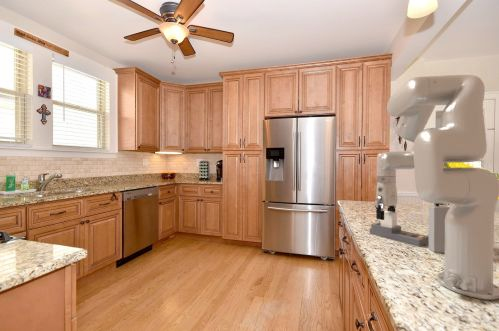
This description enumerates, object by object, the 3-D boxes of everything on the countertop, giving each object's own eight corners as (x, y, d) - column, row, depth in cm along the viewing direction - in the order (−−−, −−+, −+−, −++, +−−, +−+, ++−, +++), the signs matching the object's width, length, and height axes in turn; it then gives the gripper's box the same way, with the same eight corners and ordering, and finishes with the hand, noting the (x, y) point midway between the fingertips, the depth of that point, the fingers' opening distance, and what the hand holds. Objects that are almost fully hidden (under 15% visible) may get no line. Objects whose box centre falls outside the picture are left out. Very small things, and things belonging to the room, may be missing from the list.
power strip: (418, 248, 93) (418, 235, 93) (369, 234, 110) (369, 224, 110) (429, 243, 98) (429, 231, 97) (380, 231, 114) (380, 221, 114)
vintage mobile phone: (449, 253, 86) (450, 184, 85) (434, 252, 87) (434, 184, 86) (443, 249, 89) (443, 183, 89) (428, 249, 90) (428, 183, 90)
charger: (392, 231, 104) (392, 213, 104) (380, 229, 108) (380, 211, 108) (396, 230, 106) (396, 212, 106) (385, 227, 110) (385, 210, 110)
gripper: (384, 181, 99) (384, 222, 100) (404, 179, 109) (404, 216, 109) (367, 180, 106) (367, 218, 106) (387, 178, 115) (387, 214, 115)
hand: (385, 217), depth 108 cm, fingers open, 9 cm apart
